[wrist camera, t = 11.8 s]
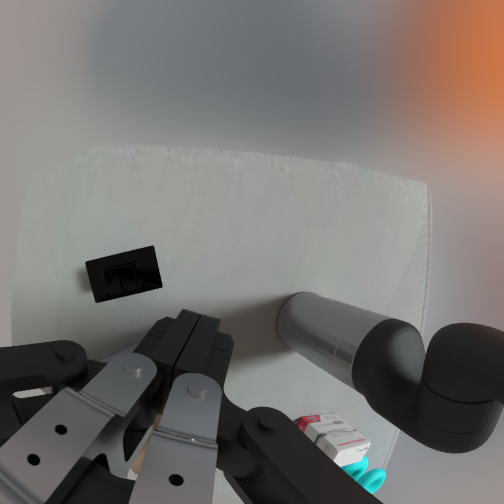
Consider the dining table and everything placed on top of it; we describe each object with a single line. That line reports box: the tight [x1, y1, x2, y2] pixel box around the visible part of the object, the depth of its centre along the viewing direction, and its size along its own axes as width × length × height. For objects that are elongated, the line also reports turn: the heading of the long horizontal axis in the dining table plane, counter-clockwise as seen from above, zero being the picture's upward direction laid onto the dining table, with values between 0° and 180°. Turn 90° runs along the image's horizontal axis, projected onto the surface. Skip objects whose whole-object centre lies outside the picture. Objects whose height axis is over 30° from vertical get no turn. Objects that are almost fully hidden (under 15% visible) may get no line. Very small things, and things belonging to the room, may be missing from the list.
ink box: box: [297, 413, 371, 467], centre depth 42 cm, size 8×5×12 cm, turn 75°
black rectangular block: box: [85, 246, 163, 303], centre depth 32 cm, size 12×7×5 cm, turn 101°
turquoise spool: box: [341, 456, 386, 494], centre depth 49 cm, size 10×10×10 cm
